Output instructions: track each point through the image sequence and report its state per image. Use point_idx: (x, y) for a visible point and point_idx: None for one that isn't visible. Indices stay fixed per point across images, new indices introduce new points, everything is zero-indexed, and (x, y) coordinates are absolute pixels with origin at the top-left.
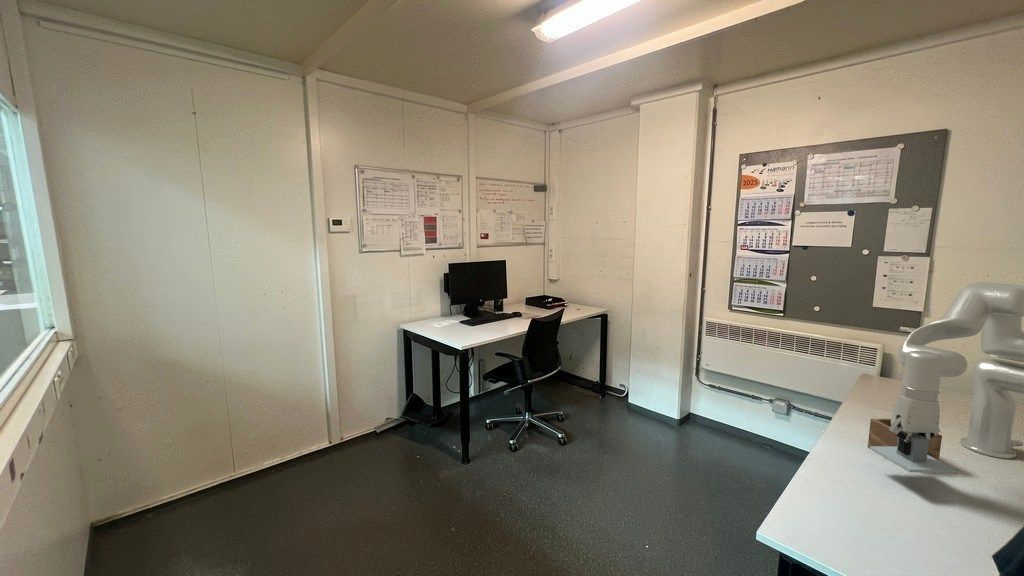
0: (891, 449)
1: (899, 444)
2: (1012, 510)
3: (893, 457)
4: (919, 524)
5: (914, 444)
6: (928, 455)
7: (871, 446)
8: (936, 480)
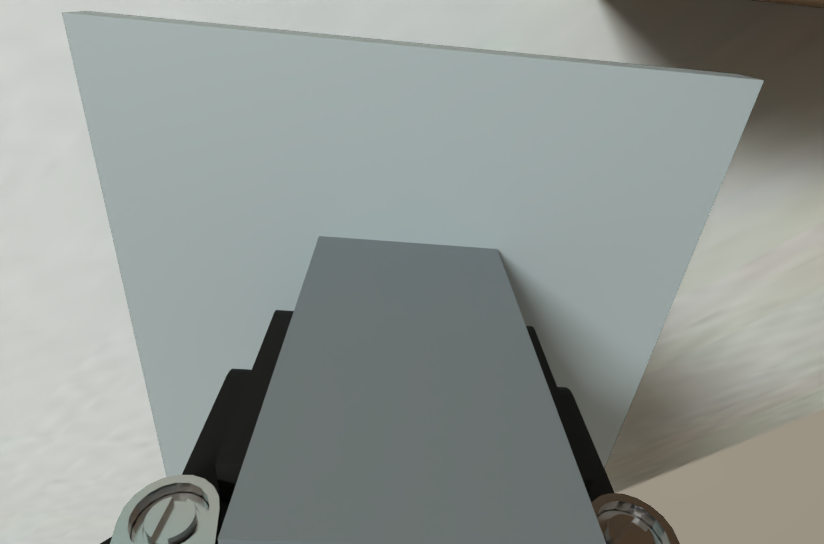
0: (343, 141)
1: (210, 426)
2: (678, 461)
3: (187, 320)
4: (108, 502)
5: None
6: (667, 307)
7: (87, 20)
8: None
